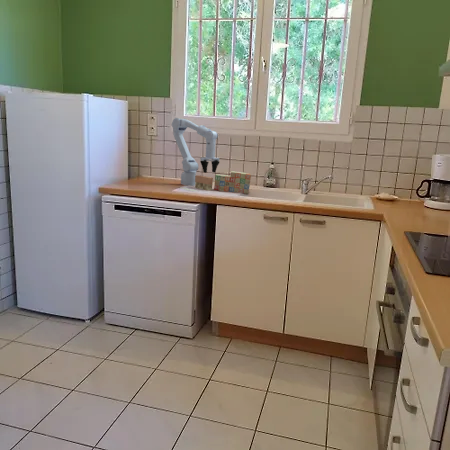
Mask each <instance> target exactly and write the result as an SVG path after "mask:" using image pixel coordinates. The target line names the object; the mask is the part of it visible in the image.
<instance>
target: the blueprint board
mask: <svg viewBox="0 0 450 450" xmlns="http://www.w3.org/2000/svg"><path fill="white" fill-rule="evenodd" d="M193 188H195V186H193ZM180 189H182V190H186V191H191V192H198V190H196V188H195V189H191V188H187V187H180ZM197 189H201V190H203V191H204V189H203V188H197Z"/></svg>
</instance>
